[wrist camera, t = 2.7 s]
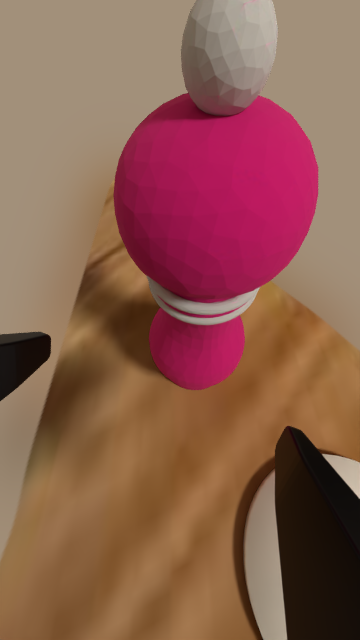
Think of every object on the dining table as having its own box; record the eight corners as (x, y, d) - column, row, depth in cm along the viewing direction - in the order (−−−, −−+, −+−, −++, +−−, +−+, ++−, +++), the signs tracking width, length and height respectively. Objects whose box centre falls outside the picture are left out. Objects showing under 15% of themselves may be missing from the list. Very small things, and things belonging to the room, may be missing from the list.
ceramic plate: (508, 751, 12) (529, 772, 11) (252, 725, 12) (257, 743, 12) (406, 457, 17) (416, 459, 17) (236, 449, 18) (238, 449, 17)
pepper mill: (175, 312, 24) (143, -64, 6) (242, 338, 22) (481, -59, 4) (142, 375, 21) (-130, 18, 3) (216, 410, 19) (617, 126, 1)
